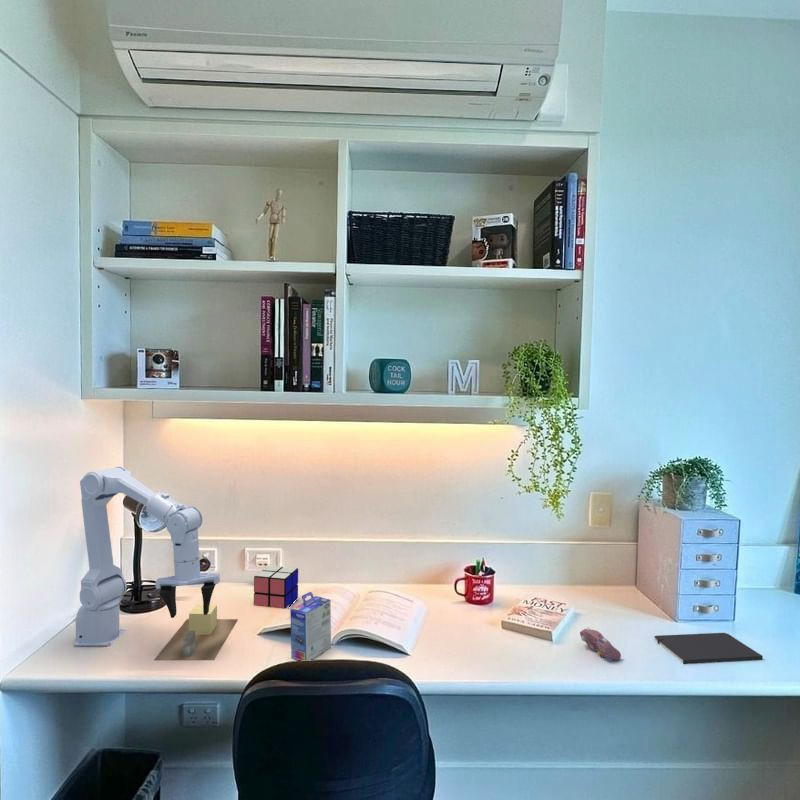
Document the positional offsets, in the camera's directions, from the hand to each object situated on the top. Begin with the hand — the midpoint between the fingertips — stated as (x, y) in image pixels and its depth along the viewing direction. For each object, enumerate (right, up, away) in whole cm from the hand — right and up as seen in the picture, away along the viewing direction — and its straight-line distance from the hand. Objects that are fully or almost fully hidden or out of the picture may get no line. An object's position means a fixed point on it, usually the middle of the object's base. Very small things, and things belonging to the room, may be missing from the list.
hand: (190, 614), depth 132 cm
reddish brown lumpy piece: (+101, -12, +5) cm, 102 cm away
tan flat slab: (0, -10, +7) cm, 12 cm away
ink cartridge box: (+29, -11, +3) cm, 31 cm away
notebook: (+130, -13, +8) cm, 130 cm away
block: (-1, -9, +12) cm, 15 cm away
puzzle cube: (+14, -10, +32) cm, 36 cm away
